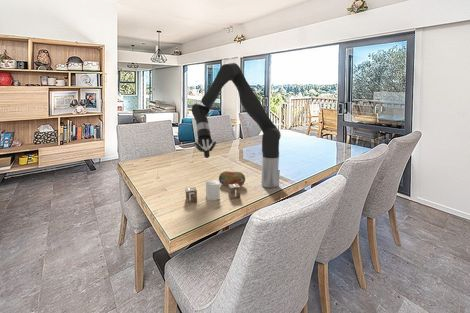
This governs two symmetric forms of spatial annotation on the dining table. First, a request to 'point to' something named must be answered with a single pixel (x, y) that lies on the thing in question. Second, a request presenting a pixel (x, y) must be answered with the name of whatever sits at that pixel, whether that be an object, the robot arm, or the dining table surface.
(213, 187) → the plain block
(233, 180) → the tin
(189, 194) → the walnut block
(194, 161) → the dining table surface
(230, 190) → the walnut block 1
